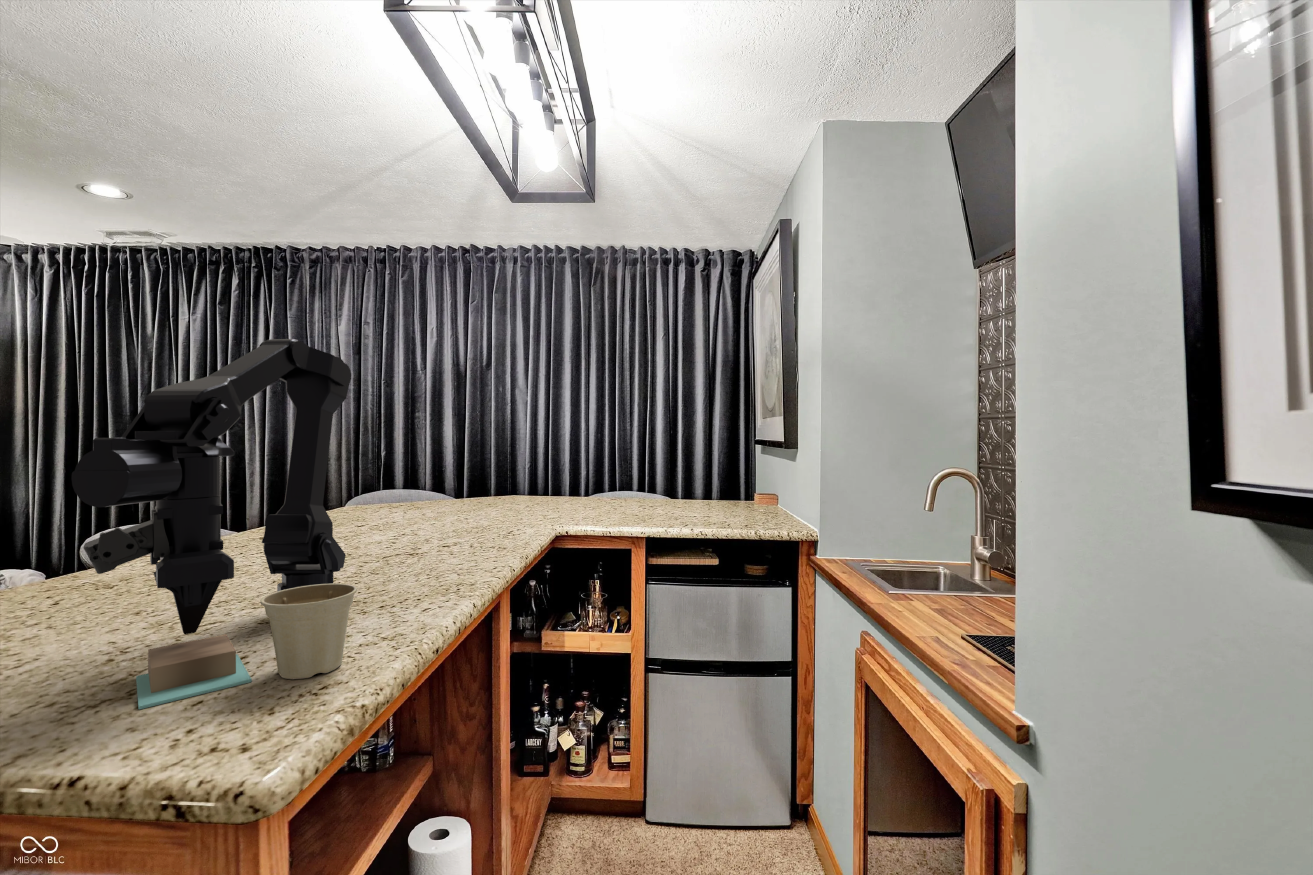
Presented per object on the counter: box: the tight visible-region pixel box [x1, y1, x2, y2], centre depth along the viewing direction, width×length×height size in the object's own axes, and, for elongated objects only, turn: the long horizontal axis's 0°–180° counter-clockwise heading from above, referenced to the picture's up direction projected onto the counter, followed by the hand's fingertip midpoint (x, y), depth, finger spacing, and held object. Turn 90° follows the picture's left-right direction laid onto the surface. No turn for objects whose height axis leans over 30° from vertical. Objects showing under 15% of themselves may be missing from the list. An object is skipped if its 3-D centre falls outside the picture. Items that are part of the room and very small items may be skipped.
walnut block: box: [147, 633, 237, 693], centre depth 63 cm, size 7×2×8 cm
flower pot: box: [259, 582, 358, 680], centre depth 64 cm, size 9×9×9 cm
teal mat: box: [135, 653, 252, 710], centre depth 61 cm, size 9×10×1 cm
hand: (189, 632), depth 65 cm, fingers closed
